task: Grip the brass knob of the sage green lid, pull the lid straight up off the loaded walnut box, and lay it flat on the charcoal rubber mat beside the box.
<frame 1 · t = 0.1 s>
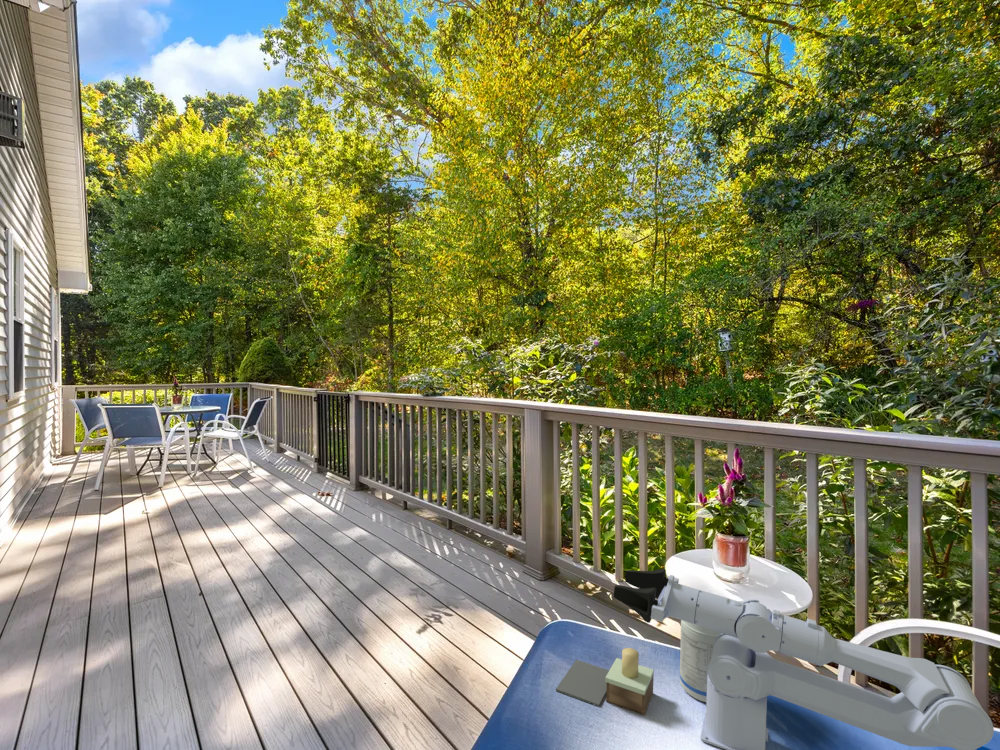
hand: (620, 583, 93), 22 cm above the table, tool horizontal, fingers open, 7 cm apart
supplement tub: (705, 690, 96), on the table
box: (629, 698, 94), on the table, touching lid
mat: (586, 682, 98), on the table
lid: (629, 681, 94), point 3 cm above the table, touching box
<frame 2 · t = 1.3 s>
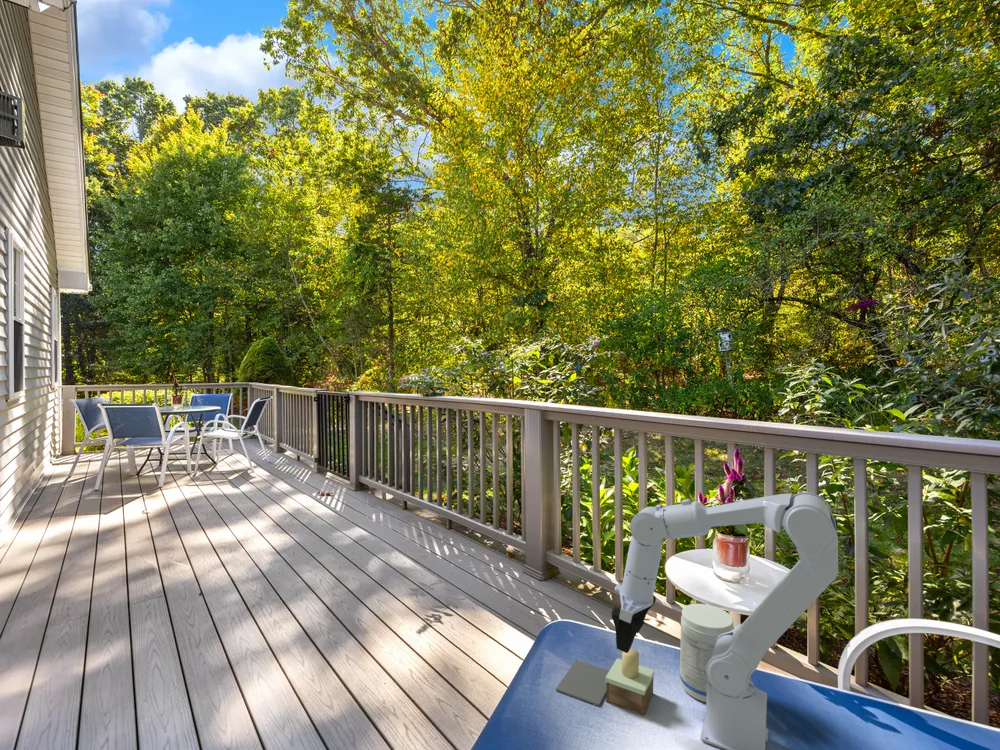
hand: (628, 639, 94), 11 cm above the table, tool pointing down, fingers open, 7 cm apart
nothing on the table moved.
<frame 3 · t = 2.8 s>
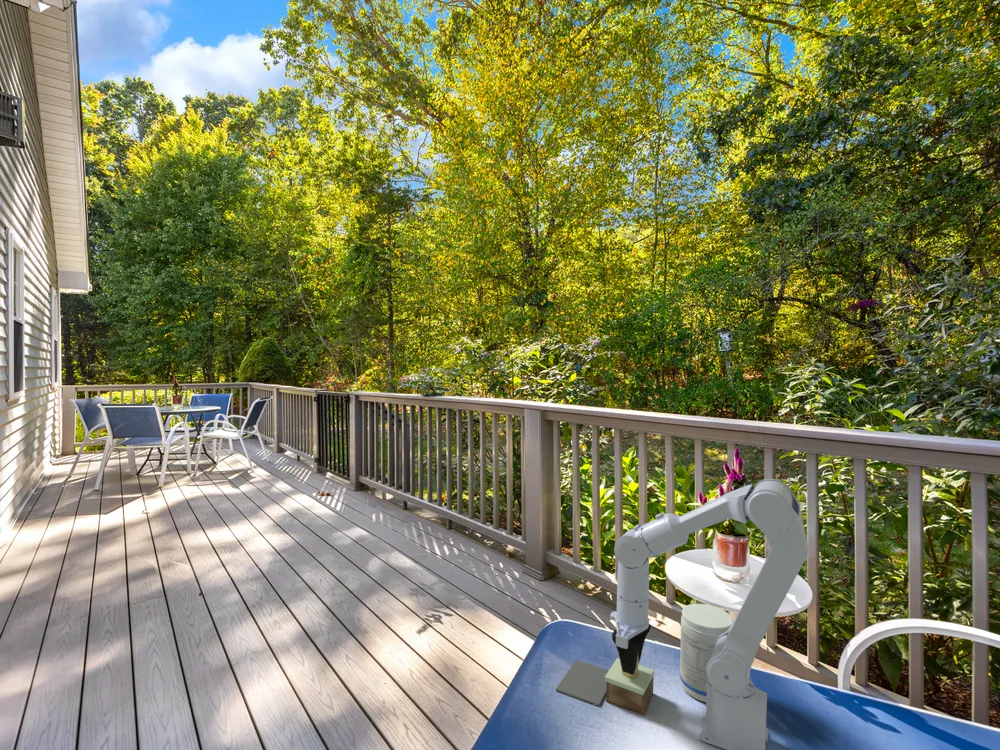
hand: (630, 667, 93), 6 cm above the table, tool pointing down, fingers closed on lid, 3 cm apart
box: (629, 699, 94), on the table
lid: (629, 681, 94), point 3 cm above the table, touching gripper
everything else where it was.
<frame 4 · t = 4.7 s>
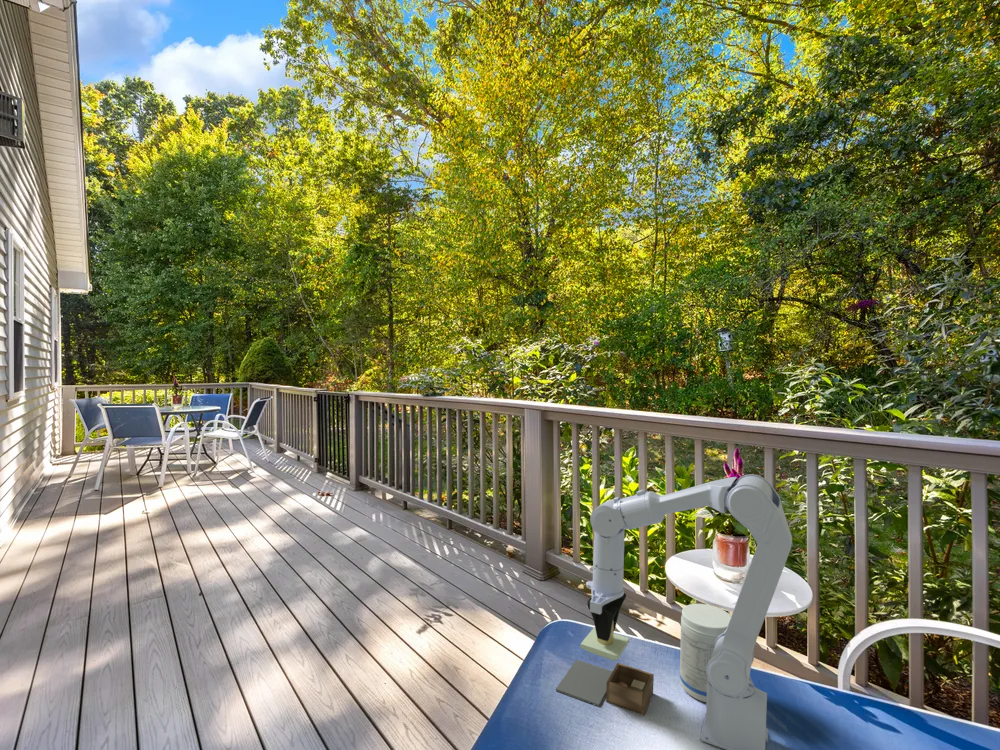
hand: (605, 634, 96), 11 cm above the table, tool pointing down, fingers closed on lid, 3 cm apart
lid: (605, 649, 96), point 8 cm above the table, touching gripper
everything else where it was.
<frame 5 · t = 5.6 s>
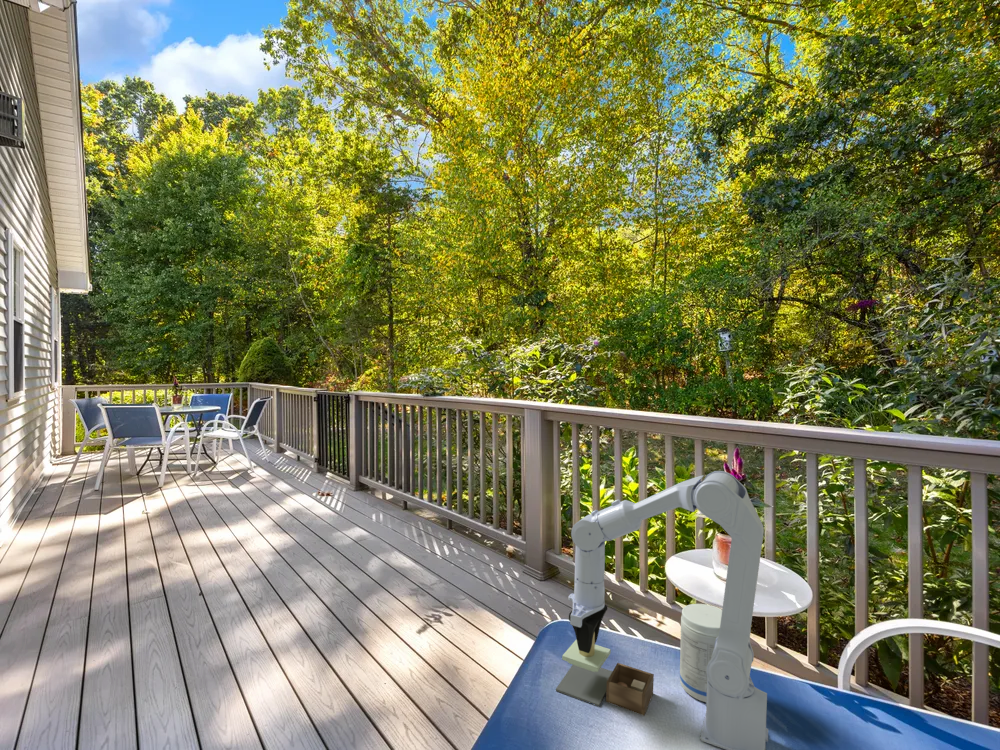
hand: (587, 646, 98), 7 cm above the table, tool pointing down, fingers closed on lid, 3 cm apart
lid: (586, 660, 98), point 4 cm above the table, touching gripper
everything else where it was.
when the fingers open (4 cm above the table, at t = 6.5 s): lid stays where it is, resting on mat.
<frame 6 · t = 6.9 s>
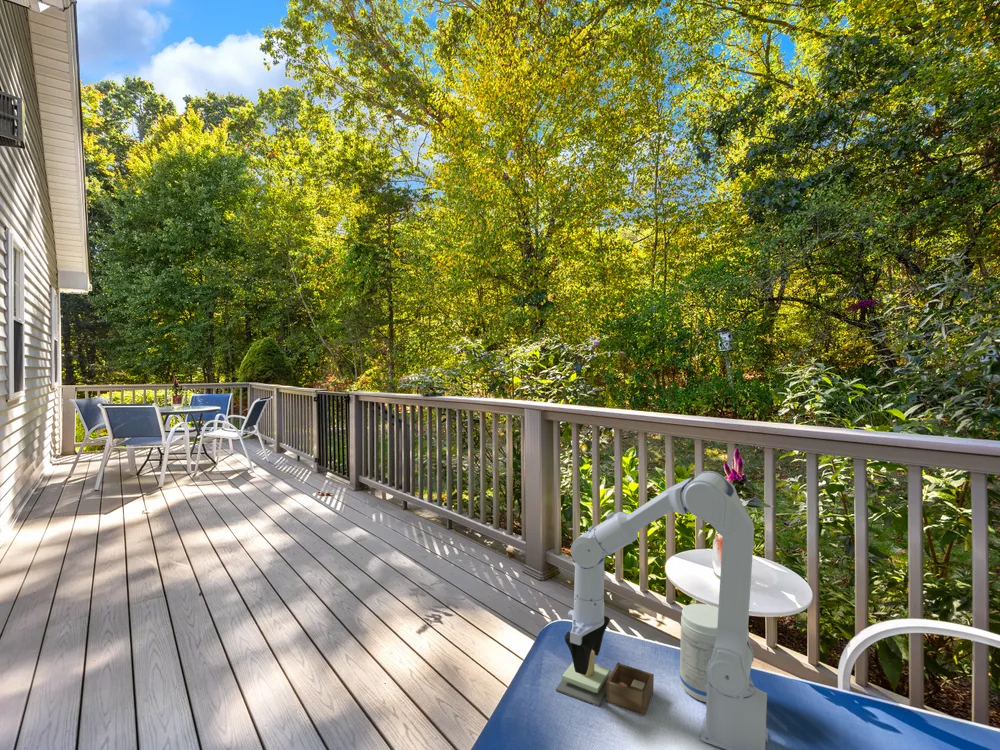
hand: (587, 662, 98), 4 cm above the table, tool pointing down, fingers open, 7 cm apart
lid: (586, 680, 98), resting on mat
everything else where it was.
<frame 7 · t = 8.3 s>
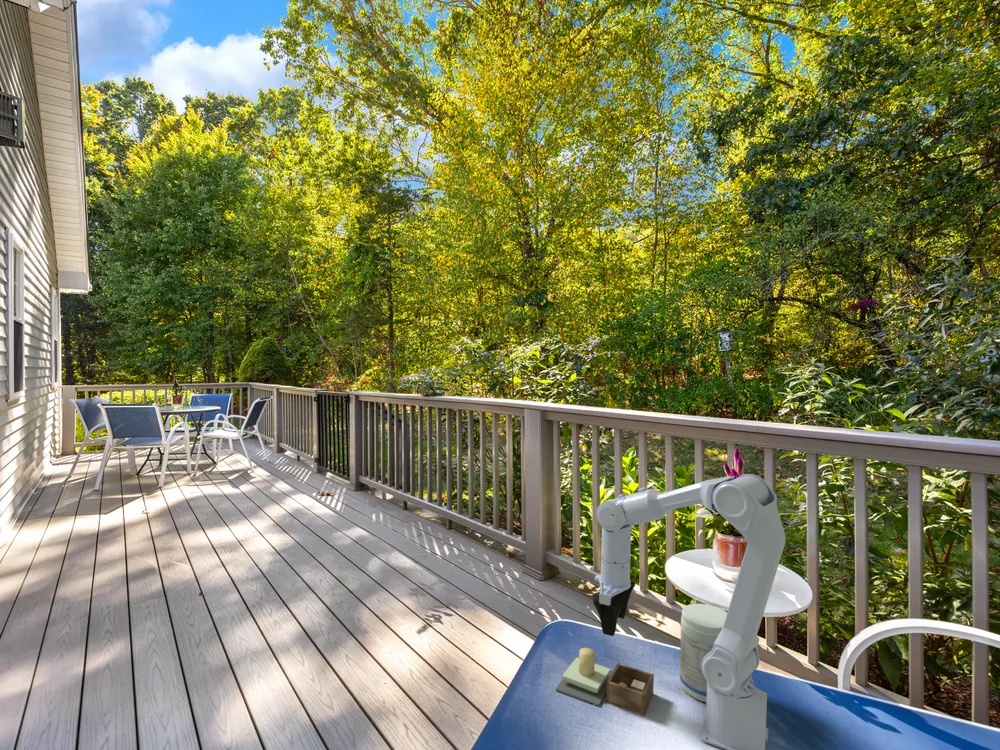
hand: (614, 625, 100), 10 cm above the table, tool pointing down, fingers open, 7 cm apart
nothing on the table moved.
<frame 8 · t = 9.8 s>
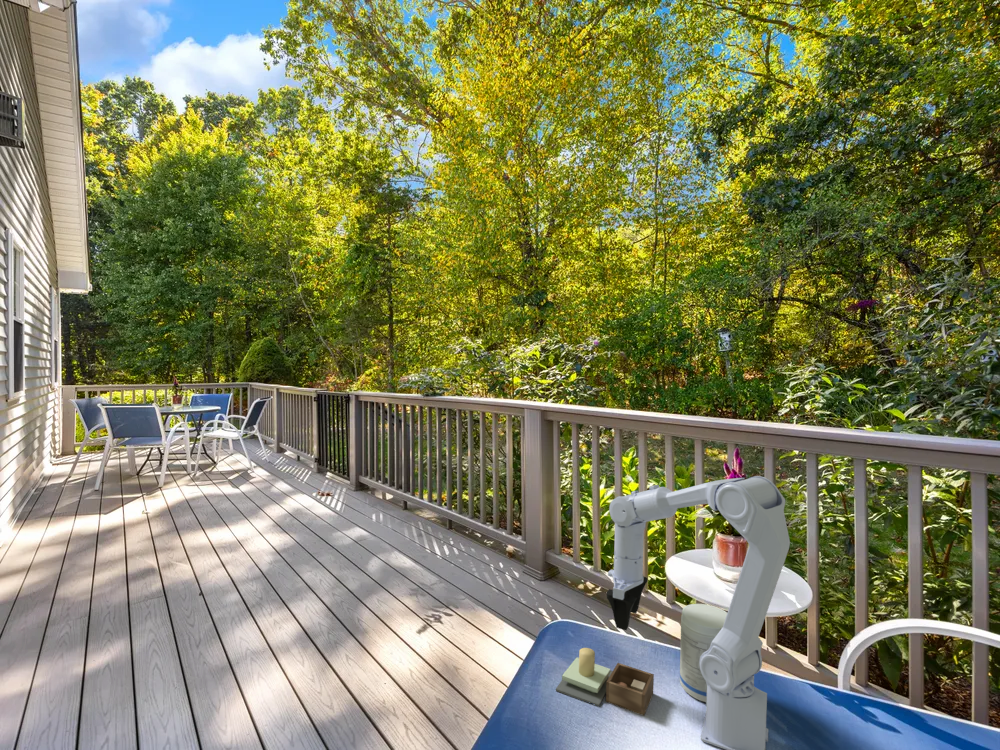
hand: (626, 619, 102), 10 cm above the table, tool pointing down, fingers open, 7 cm apart
nothing on the table moved.
at the end: lid 0.1 cm off-centre on the mat, point 0.4 cm above the mat's base; lid tilted 0°; the gripper is holding nothing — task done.
